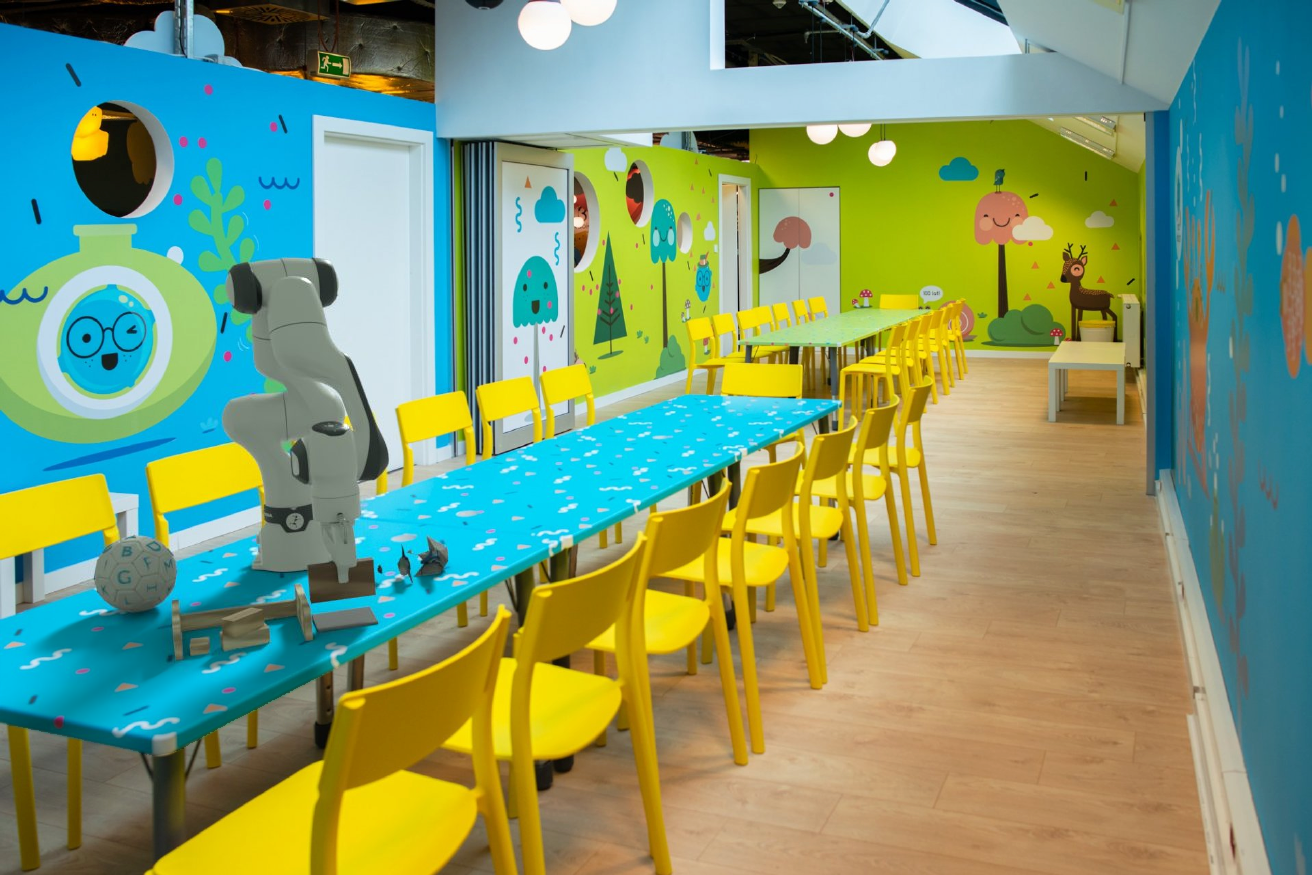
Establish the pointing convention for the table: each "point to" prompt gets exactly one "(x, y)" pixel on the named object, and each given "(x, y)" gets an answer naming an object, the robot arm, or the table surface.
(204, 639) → the offcut
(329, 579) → the walnut board
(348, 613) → the mat
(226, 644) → the offcut
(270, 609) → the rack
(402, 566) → the toy fish set
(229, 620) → the offcut
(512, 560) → the table surface
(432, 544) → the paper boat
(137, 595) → the puzzle ball
